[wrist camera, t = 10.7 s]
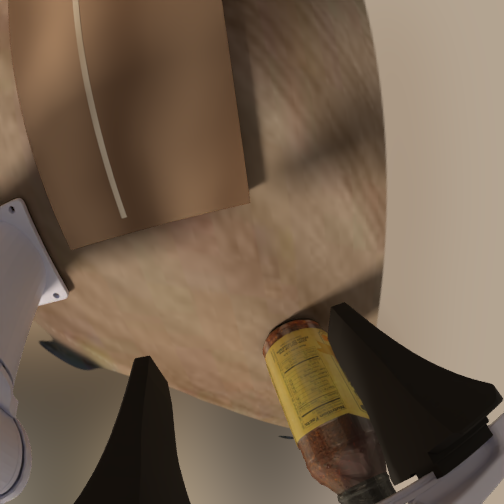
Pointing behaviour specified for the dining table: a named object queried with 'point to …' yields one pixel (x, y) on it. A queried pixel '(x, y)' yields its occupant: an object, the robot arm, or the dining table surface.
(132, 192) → the walnut board
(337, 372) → the sauce bottle
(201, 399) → the dining table surface
